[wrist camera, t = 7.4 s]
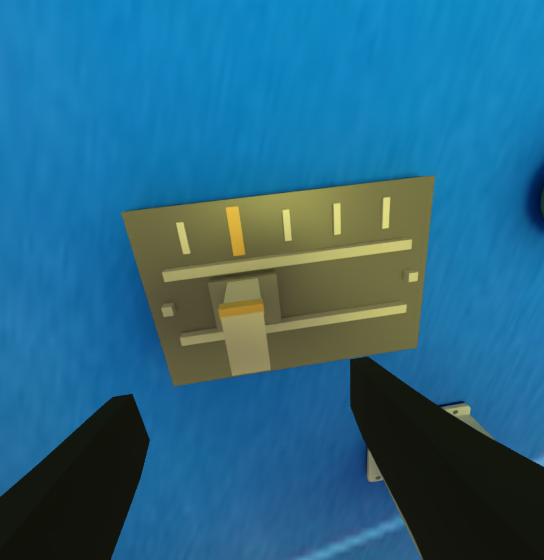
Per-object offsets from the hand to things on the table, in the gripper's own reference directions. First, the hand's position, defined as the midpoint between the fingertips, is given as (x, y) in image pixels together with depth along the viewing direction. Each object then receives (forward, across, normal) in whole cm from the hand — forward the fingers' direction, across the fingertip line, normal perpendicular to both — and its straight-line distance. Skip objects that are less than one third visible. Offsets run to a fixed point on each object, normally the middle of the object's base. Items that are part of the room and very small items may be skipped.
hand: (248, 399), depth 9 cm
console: (+10, -3, 0) cm, 10 cm away
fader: (+8, 0, 0) cm, 8 cm away
